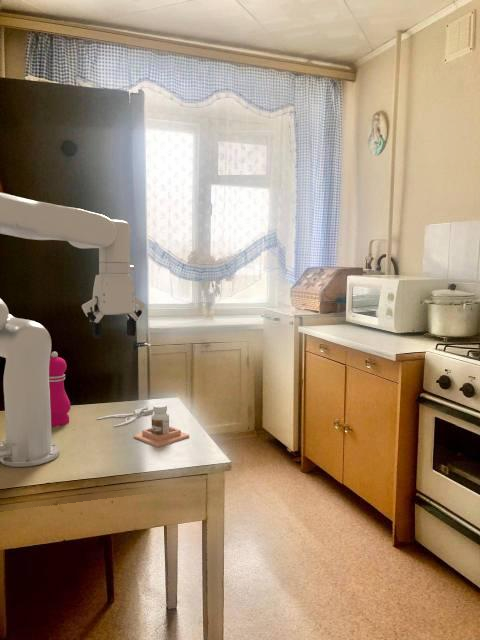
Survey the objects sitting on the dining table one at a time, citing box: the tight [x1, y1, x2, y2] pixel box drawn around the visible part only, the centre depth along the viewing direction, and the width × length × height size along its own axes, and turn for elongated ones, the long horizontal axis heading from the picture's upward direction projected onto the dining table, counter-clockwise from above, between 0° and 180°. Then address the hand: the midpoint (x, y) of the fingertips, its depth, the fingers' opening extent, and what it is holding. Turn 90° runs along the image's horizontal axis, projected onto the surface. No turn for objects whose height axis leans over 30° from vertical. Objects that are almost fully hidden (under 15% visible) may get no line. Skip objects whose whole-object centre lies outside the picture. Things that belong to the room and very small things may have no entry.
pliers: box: [96, 406, 154, 428], centre depth 148 cm, size 10×2×15 cm
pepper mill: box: [49, 351, 71, 427], centre depth 142 cm, size 7×7×20 cm
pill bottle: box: [151, 403, 170, 436], centre depth 131 cm, size 4×4×8 cm
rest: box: [133, 425, 190, 448], centre depth 131 cm, size 10×10×2 cm
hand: (114, 336), depth 132 cm, fingers open, 9 cm apart
